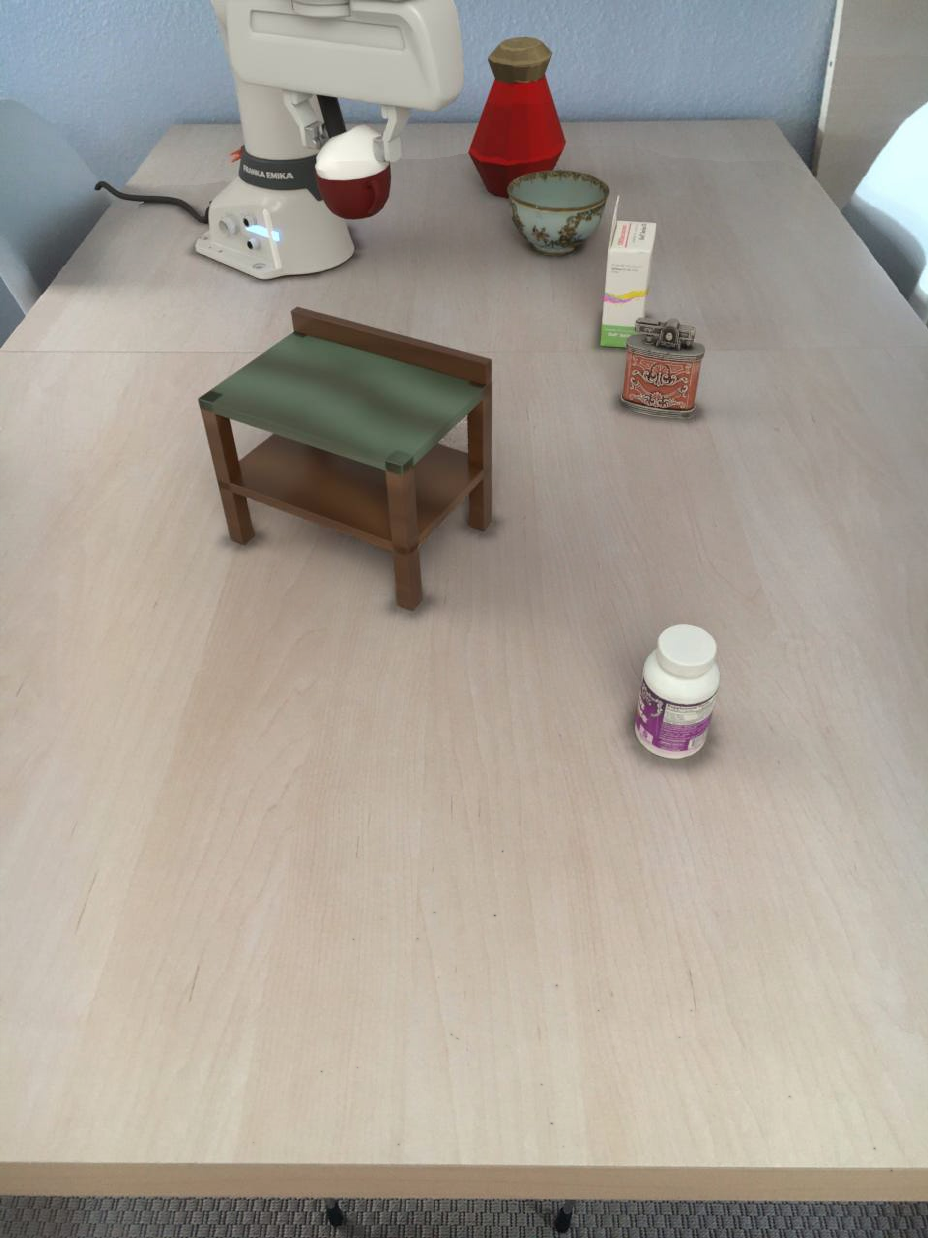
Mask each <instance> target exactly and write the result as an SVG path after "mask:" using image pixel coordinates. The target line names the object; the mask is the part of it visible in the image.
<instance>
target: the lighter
mask: <svg viewBox="0 0 928 1238" xmlns="http://www.w3.org/2000/svg"><path fill="white" fill-rule="evenodd" d="M634 331H635V332H637V333H642V335H641V334H635V335H631V336H629V337H628V338H627V342H626V348H625V349H626V358H625V359H626V360H625V367H624V377H623V387H622V393H621V394H620V400H619V405H620V407H621V408H623V409H624V410H628V411H631V412H636V413H638V414H644V415H649V416H653V417H660V418H661V417H662V418H668V419H669V418H671V419H690V418H692V417H693V416H694V415H695V413H696V405H697V404H696V396H697V388H698V383H699V379H700V372H701V365H702V360H703V359H704V357H705V350H706V347H705V346H704V345H703V344H702V343H700V342H697V341H694V340H695V338H696V331H697V327H696V326H694V325H689V324H683V323H680V321H679V320H678V319H677V318H673V317H672V318H668V319H667V320H666V321H661V320H660V319H656V318H649V317H645V318H642V317H639V318H638V319H637V320H636V321H635V330H634Z"/></svg>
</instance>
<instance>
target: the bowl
mask: <svg viewBox="0 0 928 1238" xmlns="http://www.w3.org/2000/svg"><path fill="white" fill-rule="evenodd" d="M507 192H508V194H509V198H508V201H509V210H510V215H511V216H510V217H511V220H512V223H513V224H514V226H515V228H516V229H517V232H518V233H519V234H520V235H521V236H522V237H523V239H525V240H526V241H527V242H529V243H531V244H532V247H533V250H534V251H535V252H537V253H539V254H540V255H543V256H551V257H559V256H561V257H562V256H566V255H569V254H572V253H573V252H575V251H576V250H577V248H578V246H579V245H580V244H583V243H584V242H586V241H587V240H588V239H589V238H590V237H591V236H592V235H593V234H594V233H595V231H596V230H597V229H598V227H599V225H600V223H601V221H602V218H603V216H604V212H605V208H606V203H607V200H608V198H609V196H610V187H609V185H608V184H607V183H606V182H605V181H603V179H602V180H601V179H600V178H598V177H595V176H594V175H591V174H587V173H582V172H578V171H572V170H571V171H570V170H561V169H560V170H553V171H542V172H536V173H530V174H526V175H523V176H521V177H518V178H516V179H514V180H513V181H512V182H511V183H510V184H509V185H508V188H507Z"/></svg>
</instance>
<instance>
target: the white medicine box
mask: <svg viewBox="0 0 928 1238" xmlns="http://www.w3.org/2000/svg"><path fill="white" fill-rule="evenodd" d="M619 201H620V194H618V195H617V198H616V201H615V207H614V211H613V215H612V220H611V229H610V235H609V240H608V241H609V242H608V248H607V258H606V259H607V261H606V273H605V284H604V295H603V307H602V319H601V328H600V329H601V331H600V343H599V345H600V347H610V348H622V349H626V342H627V338H628V337H629V336H631V335H635V334H641V335H643V333H637V332H635V331H634V330H635V321H636V320H637V319H638V318H639V317H642V318H646V313H647V307H648V298H649V292H650V283H651V275H652V267H653V260H654V259H653V258H654V252H655V244H656V233H657V223H656V222H646V221H632V220H631V221H628V220H617V216H618V207H619V203H620V202H619Z"/></svg>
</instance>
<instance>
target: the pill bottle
mask: <svg viewBox="0 0 928 1238" xmlns="http://www.w3.org/2000/svg"><path fill="white" fill-rule="evenodd" d="M717 648H718V647H717V642H716V640H715V639H714V637H713V636H712V635H711V634H710V633H709V632H708V631H707V630H705V629H704V628H702V627H700V626H696V625H693V624H687V623H679V624H675V625H671V626H668V627H667V628H666V629H664V630H663V631H661V633H660V634H659V637H658V639H657V644H656V648H654V649H653V651H651V652H650V653H649V655H648V656H647V658H646V660H645V661H644V665H643V669H642V675H641V681H640V688H639V696H638V702H637V709H636V716H635V724H634V728H635V735H636V738H637V739H638V741H639V743H640V744H641V746H643V747H644V748H645V749H646V750H647V751H649V752H650V753H652V754H654V755H656V756H658V757H662V758H665V759H672V760H677V759H678V760H679V759H684V758H688V757H691V756H693V755H695V754H696V753H697V752H698V751H700V750H701V749H702V747H703V746H704V744H705V742H706V739H707V735H708V732H709V728H710V723H711V721H712V720H711V719H712V715H713V712H714V708H715V703H716V701H717V700H716V699H717V695H718V691H719V688H720V683H721V682H720V681H721V672H720V671H721V670H720V668H719V667H720V666H719V665H718V663H717V661H716V656H717V650H718V649H717Z"/></svg>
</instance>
